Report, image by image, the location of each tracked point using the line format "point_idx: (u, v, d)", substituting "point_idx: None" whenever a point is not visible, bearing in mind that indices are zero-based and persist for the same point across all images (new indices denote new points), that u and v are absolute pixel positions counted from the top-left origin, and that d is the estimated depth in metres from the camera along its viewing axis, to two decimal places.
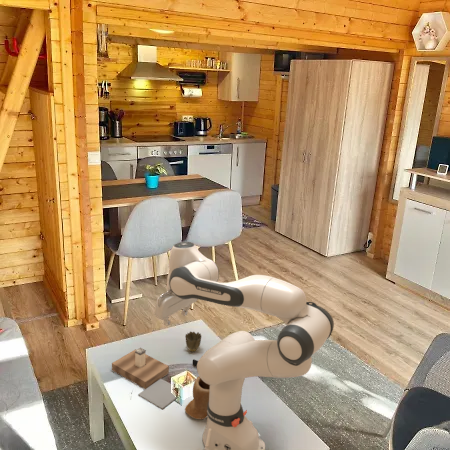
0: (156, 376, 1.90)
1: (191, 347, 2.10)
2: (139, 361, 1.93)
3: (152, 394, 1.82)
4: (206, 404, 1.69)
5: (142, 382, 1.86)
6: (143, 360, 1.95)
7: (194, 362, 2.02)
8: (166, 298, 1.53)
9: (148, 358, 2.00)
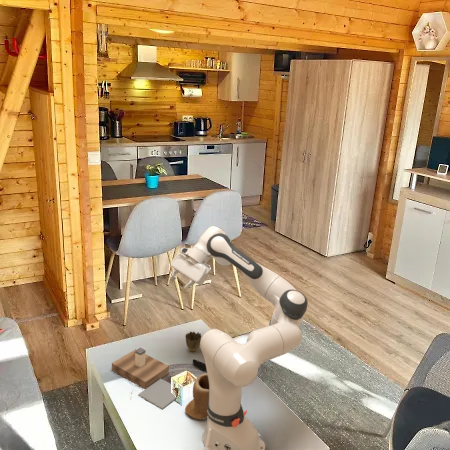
0: (156, 376, 1.90)
1: (191, 347, 2.10)
2: (139, 361, 1.93)
3: (152, 394, 1.82)
4: (206, 404, 1.69)
5: (142, 382, 1.86)
6: (143, 360, 1.95)
7: (194, 362, 2.02)
8: None
9: (148, 358, 2.00)
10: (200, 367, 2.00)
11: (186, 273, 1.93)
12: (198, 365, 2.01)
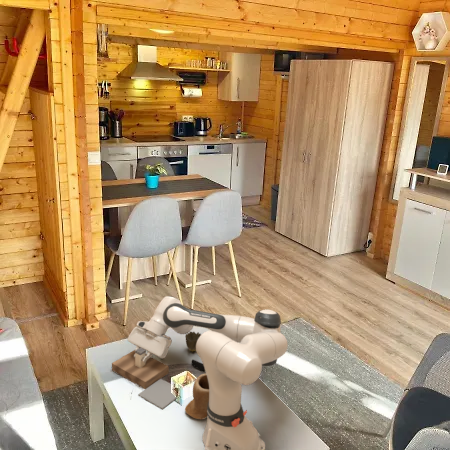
0: (156, 376, 1.90)
1: (191, 347, 2.10)
2: (139, 361, 1.93)
3: (152, 394, 1.82)
4: (206, 404, 1.69)
5: (142, 382, 1.86)
6: None
7: (193, 362, 2.02)
8: None
9: None
10: (199, 367, 2.00)
11: (147, 348, 1.94)
12: (197, 365, 2.00)
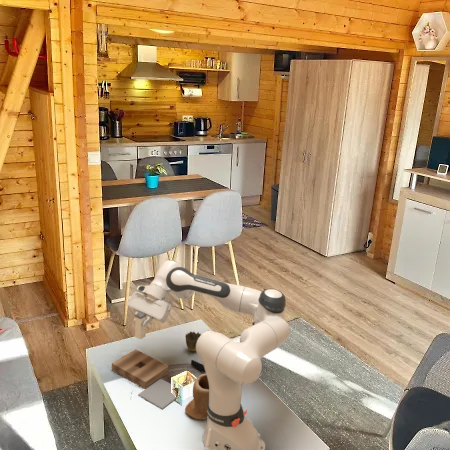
0: (156, 376, 1.90)
1: (191, 347, 2.10)
2: (139, 325, 1.88)
3: (152, 394, 1.82)
4: (206, 404, 1.69)
5: (142, 382, 1.86)
6: None
7: (192, 362, 2.02)
8: None
9: (148, 358, 2.00)
10: (198, 368, 1.99)
11: (147, 312, 1.89)
12: (196, 366, 2.00)
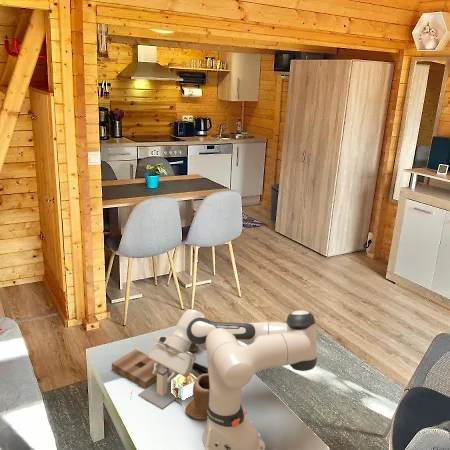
0: (156, 376, 1.90)
1: (191, 347, 2.10)
2: (161, 382, 1.80)
3: (152, 394, 1.82)
4: (206, 404, 1.69)
5: (142, 382, 1.86)
6: (165, 381, 1.81)
7: None
8: None
9: (148, 358, 2.00)
10: (196, 369, 1.99)
11: (169, 365, 1.80)
12: (194, 367, 2.00)
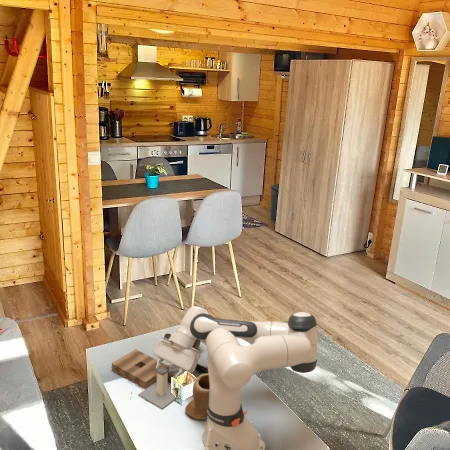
0: (156, 376, 1.90)
1: None
2: (161, 382, 1.80)
3: (152, 394, 1.82)
4: (206, 404, 1.69)
5: (142, 382, 1.86)
6: (165, 380, 1.81)
7: None
8: None
9: (148, 358, 2.00)
10: (196, 369, 1.99)
11: (174, 361, 1.84)
12: None
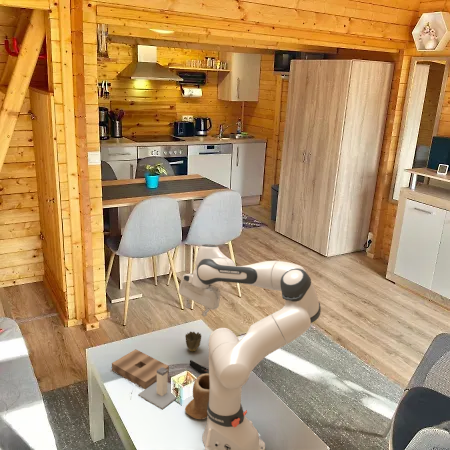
0: (156, 376, 1.90)
1: (191, 347, 2.10)
2: (161, 382, 1.80)
3: (152, 394, 1.82)
4: (206, 404, 1.69)
5: (142, 382, 1.86)
6: (165, 380, 1.81)
7: (191, 363, 2.01)
8: None
9: (148, 358, 2.00)
10: (196, 369, 1.99)
11: (199, 301, 1.93)
12: (194, 366, 2.00)
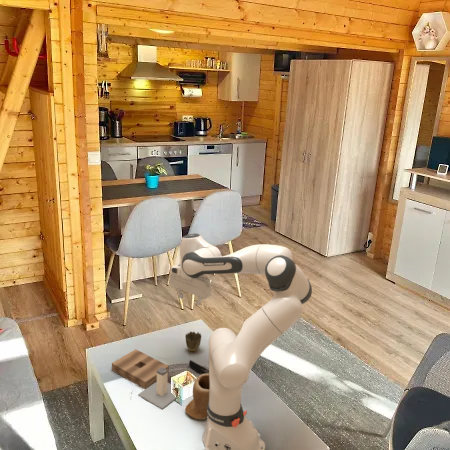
0: (156, 376, 1.90)
1: (191, 347, 2.10)
2: (161, 382, 1.80)
3: (152, 394, 1.82)
4: (206, 404, 1.69)
5: (142, 382, 1.86)
6: (165, 380, 1.81)
7: (190, 363, 2.01)
8: None
9: (148, 358, 2.00)
10: (195, 369, 1.99)
11: (190, 292, 1.90)
12: (194, 367, 2.00)
